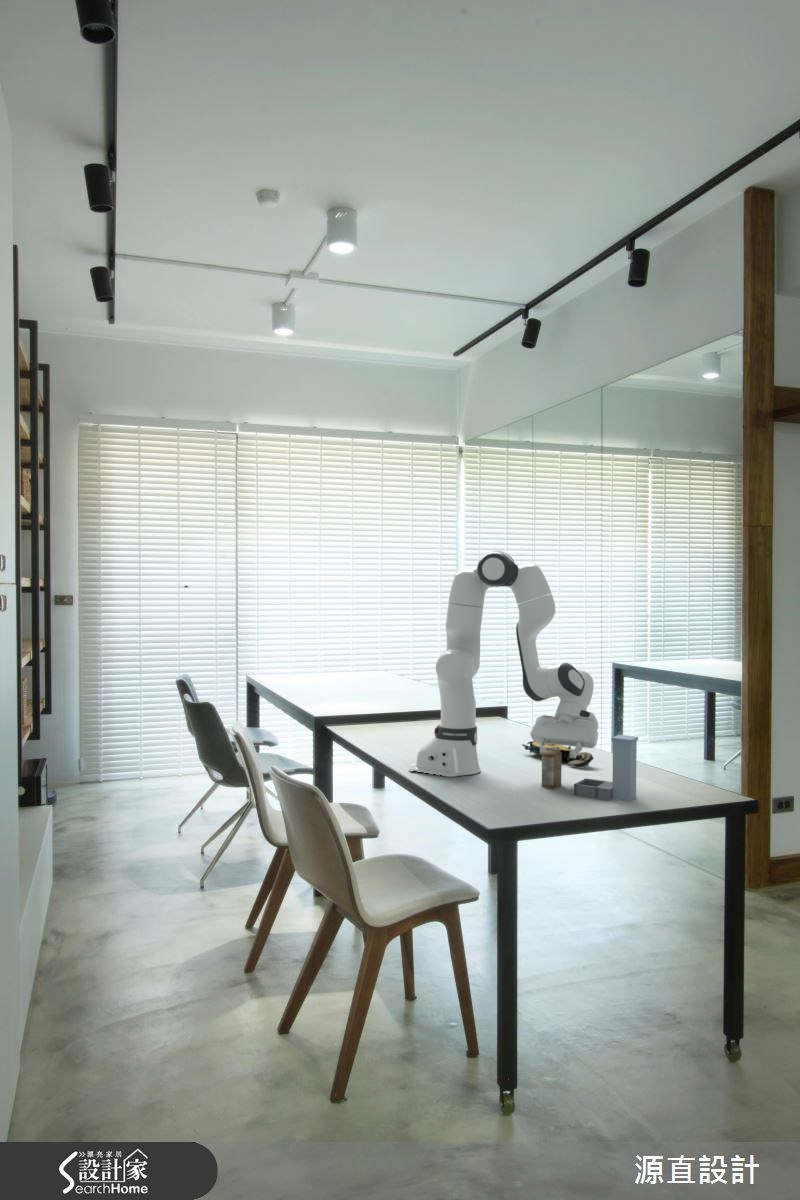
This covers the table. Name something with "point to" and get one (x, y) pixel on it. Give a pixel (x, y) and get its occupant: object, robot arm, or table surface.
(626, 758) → the grey l-shaped post
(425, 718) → the table surface
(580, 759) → the pulley block
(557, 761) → the brown rectangular block
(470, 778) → the table surface
